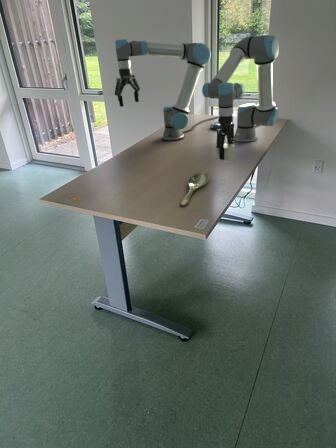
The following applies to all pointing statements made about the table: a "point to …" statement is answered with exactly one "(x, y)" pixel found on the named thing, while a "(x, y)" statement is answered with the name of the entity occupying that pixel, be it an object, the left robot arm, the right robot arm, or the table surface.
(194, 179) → the spoon
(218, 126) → the spray gun
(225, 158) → the block
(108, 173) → the table surface
